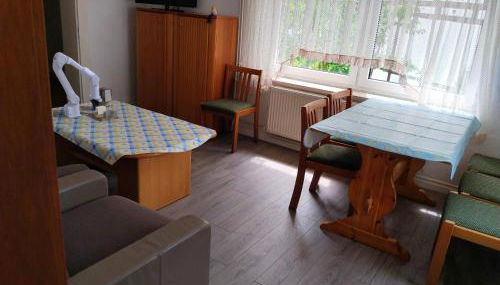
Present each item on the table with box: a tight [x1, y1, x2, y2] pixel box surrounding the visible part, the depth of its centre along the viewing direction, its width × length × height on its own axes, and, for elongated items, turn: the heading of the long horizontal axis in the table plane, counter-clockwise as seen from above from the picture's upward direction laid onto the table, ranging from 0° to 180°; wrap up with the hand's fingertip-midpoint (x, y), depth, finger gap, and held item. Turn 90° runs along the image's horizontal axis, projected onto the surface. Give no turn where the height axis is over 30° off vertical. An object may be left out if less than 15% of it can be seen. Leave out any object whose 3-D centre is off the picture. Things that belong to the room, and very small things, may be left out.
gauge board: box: [87, 109, 120, 122], centre depth 277 cm, size 13×18×6 cm
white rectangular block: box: [93, 106, 106, 115], centre depth 277 cm, size 9×3×5 cm, turn 141°
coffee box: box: [98, 86, 113, 111], centre depth 294 cm, size 9×6×16 cm
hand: (95, 109), depth 283 cm, fingers closed
